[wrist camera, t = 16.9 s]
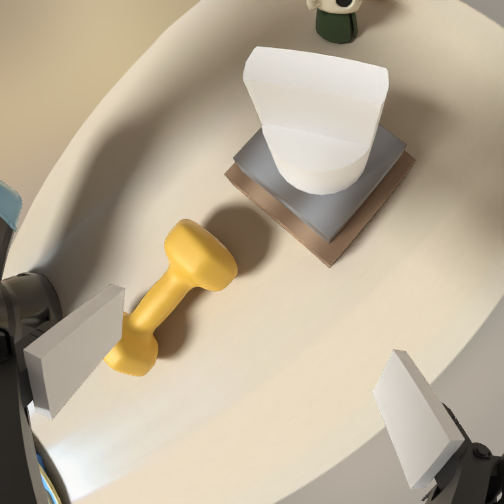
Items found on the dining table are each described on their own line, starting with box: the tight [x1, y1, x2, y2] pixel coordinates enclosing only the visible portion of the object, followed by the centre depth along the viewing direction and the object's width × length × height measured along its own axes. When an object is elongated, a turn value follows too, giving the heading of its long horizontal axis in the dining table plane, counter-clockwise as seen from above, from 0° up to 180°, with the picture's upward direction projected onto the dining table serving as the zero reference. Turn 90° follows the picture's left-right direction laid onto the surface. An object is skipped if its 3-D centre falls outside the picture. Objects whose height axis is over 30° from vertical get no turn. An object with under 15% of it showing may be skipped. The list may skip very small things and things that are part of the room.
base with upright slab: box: [243, 46, 389, 195], centre depth 22 cm, size 9×9×12 cm
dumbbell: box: [103, 219, 238, 376], centre depth 34 cm, size 19×9×8 cm, turn 136°
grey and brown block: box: [224, 124, 416, 268], centre depth 32 cm, size 15×15×8 cm
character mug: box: [306, 0, 362, 43], centre depth 31 cm, size 11×7×13 cm, turn 133°
